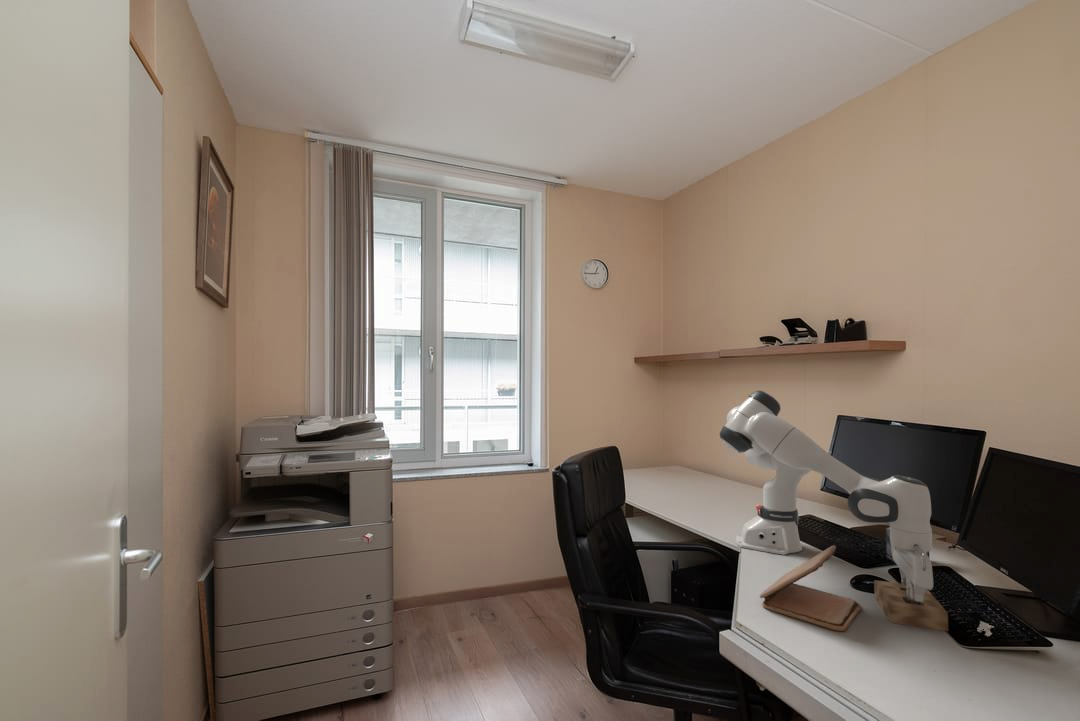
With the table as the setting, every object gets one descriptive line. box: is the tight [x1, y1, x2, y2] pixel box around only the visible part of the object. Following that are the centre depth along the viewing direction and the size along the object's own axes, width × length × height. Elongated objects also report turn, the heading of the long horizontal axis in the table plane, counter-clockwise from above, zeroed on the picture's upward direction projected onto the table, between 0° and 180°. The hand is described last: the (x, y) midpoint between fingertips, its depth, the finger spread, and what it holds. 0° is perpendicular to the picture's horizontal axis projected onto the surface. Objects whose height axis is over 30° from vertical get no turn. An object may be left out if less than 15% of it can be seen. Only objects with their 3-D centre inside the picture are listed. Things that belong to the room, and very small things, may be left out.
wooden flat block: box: [873, 579, 949, 632], centre depth 131 cm, size 12×16×4 cm
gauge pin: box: [906, 576, 919, 605], centre depth 128 cm, size 2×2×11 cm
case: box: [759, 545, 862, 632], centre depth 135 cm, size 20×21×16 cm
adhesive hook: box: [976, 620, 995, 637], centre depth 120 cm, size 3×3×3 cm
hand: (912, 592), depth 128 cm, fingers open, 8 cm apart
